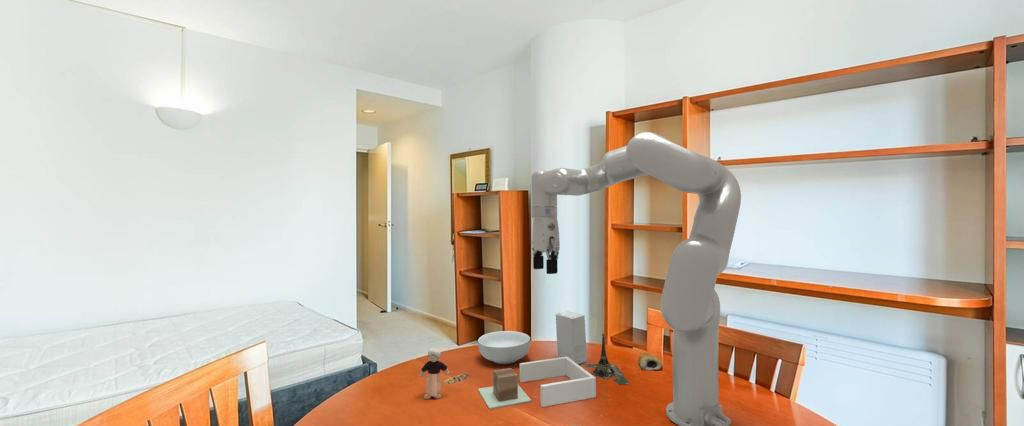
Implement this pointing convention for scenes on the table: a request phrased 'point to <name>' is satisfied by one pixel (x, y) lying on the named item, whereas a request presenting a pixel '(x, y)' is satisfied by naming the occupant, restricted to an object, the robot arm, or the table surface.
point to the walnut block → (505, 384)
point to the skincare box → (571, 336)
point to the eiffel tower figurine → (607, 368)
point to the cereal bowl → (504, 346)
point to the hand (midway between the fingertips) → (544, 271)
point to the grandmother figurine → (433, 374)
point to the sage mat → (494, 403)
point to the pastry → (649, 362)
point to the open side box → (563, 391)
